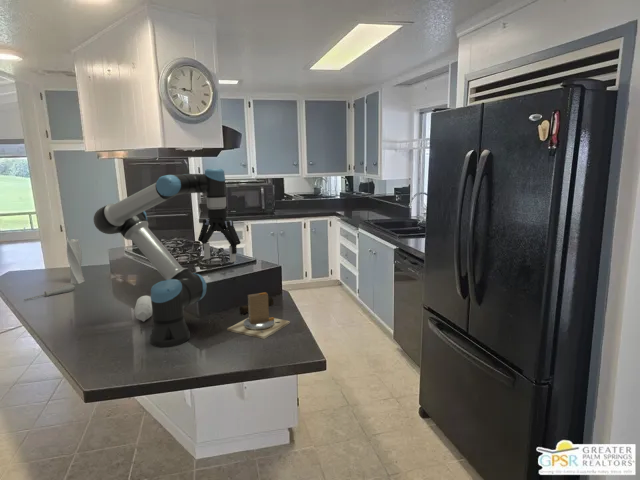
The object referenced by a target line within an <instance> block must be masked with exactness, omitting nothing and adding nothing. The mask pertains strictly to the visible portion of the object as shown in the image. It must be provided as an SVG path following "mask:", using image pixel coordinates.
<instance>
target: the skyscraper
mask: <svg viewBox="0 0 640 480" xmlns="http://www.w3.org/2000/svg"><path fill="white" fill-rule="evenodd" d="M82 254H83V253H82V249H81V244H80V241H79V238H77V239H74V238H73V239H69V238H68V236H67V237H66V257H67V262H68V264H69V268H70V285H74V284H75V285H79V284H82V283H84V282H86V280H85V277H84V274H83V270H82V262H83V261H82V260H83V255H82Z"/></svg>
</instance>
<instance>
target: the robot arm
mask: <svg viewBox="0 0 640 480" xmlns="http://www.w3.org/2000/svg"><path fill="white" fill-rule="evenodd" d="M203 193H204V194H206V196H205V197H206V207H207V213H206V214H207V218H206V219H203V220H202V225H201V230H200V233H199V236H198V242H201V244H202V251H203V259H204V260H208V259H211V248H210V242H209V240H210V238H211V237H212V235H213V234H214V233H215V232H220V233H222V235H223V236H224V237H225V239H226V241H227V242H228V244H229V246H228V251H229V263H232V264H233V263H234V262H236V261H237V256H236V254H237V252H238V250H237V249H238V248H237V246H238V245H241V240H240V238H239V236H238V233H237V231H236V228H235V225H234V220H228V221H227V217H228V209H227V208H226V207H227V197H226V196H227V194H226V175H225V170H224V169H223V168H206V169H204V173H183V174H166V175H162V176H159V177H158V179H157V181H156V182H154V183H153V184H151V185H149V186H147V187H145V188H143V189H141V190H139V191H137V192H135V193H133V194H131V195H130V196H128V197H125V198H124V199H122V200H120V201H118V202H115V203H108V204H105V205H104V206H102V207H100V208H99V209H97V210H96V211H95V212H94V214H93V225H94V226H95V227H96V229H97V230H98V231H99V232H101V233H103V234H106V235H114V234H115V235H116V234H121V236H122V237H123V238H124V239H125V240H129V241H131V242H132V243H133V244H134V245H135V246H136V247H137V248H138V249H139V251H140V252H141V253H142V255H144V257H146V259H147V260H148V261H149V262H150V264H151V265H152V266H153V268H155V270H157V272H158V273H159V274H160V275H161V276H162V278H163V279H164V280H161V281H159V282H157V283H155V284H153V285H152V286H151V289H150V297H151V303H152V321H153V322H152V323H153V325H152V329H151V334H150V336H149V343H150V344H151V345H152V346H154V347H159V348H166V347H167V348H168V347H169V348H170V347H175V346H179V345H182V344H185V343H186V342H187V341H189V340H190V338H191V333H190V329H189V327H188V325H187V323H186V321H185V314H184V313H185V312H184V309H185V308H187V307H189V306H191V305H193V304H195V303H198V302H199V301H201V300H202V299H203V298H204V297H205V295H206V293H207V290H208V289H207V288H208V286H207V282H206V279H205V278H204V277H203V276H202V274H199V273H195V272H194V273H192V271H191V270H190V269H189V268H188V267H183V266H182V265H181V264H180V262H178V260H177V259H176V258H175V257H174V256H173V255H172V254H171V252H170V251H169V250H168V249H167V248H166V247H165V246H164V244H163V243H162V242H161V240H159V238H158V237H157V236H156V235H155V234H154V233H153V232H152V230H151V229H150V228H149V222H148V215H147V210H149V209H151V208H153V207H156V206H157V205H160V204H161V203H164V202H166V201H167V200H170V199H172V198H174V197H176V196H179V195H180V196H181V195H187V194H203Z"/></svg>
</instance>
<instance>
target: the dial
mask: <svg viewBox="0 0 640 480" xmlns="http://www.w3.org/2000/svg"><path fill="white" fill-rule="evenodd" d="M268 297H269V294H268V292H266V291H265V292H258V293H252V294H247V305H248V311H249V312H248V317H247V318H248V319H247V318H245V319H246V320H245V319H244V320H245V321H244V327H245V328H247V329H251V330H262V329H267V328H270V327H272V326H273V325H274V318H275V317H274V316H273V317H270V313H269V310H270V309H269V308H270V306H268Z"/></svg>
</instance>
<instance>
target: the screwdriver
mask: <svg viewBox="0 0 640 480" xmlns="http://www.w3.org/2000/svg"><path fill="white" fill-rule="evenodd" d="M75 289H76V286H75V285H74V284H64V285H63V286H60V287H58V288H55V289H52V290H47V291H44V293H43V294H39V295H35V296H32V297H28V298H25V299H23V301H26V300H33V299H35V298H39V297H43V296H45V298H47V297H50V296H53V295H54V296H56V295H59V294H67V293H70V292H72V291H74V290H75Z"/></svg>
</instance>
